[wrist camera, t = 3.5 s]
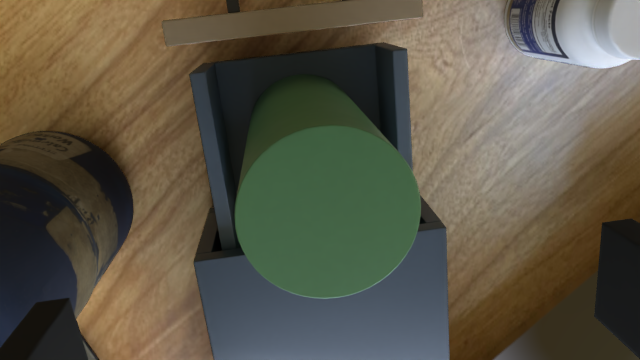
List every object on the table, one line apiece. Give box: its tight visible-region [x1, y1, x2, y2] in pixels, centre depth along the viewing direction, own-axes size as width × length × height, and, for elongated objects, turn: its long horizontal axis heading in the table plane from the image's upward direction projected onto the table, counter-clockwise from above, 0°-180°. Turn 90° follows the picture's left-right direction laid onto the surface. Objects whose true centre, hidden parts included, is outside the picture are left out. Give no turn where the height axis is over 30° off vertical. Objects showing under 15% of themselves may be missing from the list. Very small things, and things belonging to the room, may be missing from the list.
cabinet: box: [194, 196, 449, 360], centre depth 33 cm, size 16×14×8 cm
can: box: [234, 74, 421, 299], centre depth 24 cm, size 7×7×14 cm
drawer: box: [161, 0, 423, 251], centre depth 29 cm, size 19×13×6 cm, turn 6°
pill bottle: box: [504, 0, 640, 68], centre depth 28 cm, size 5×5×10 cm
